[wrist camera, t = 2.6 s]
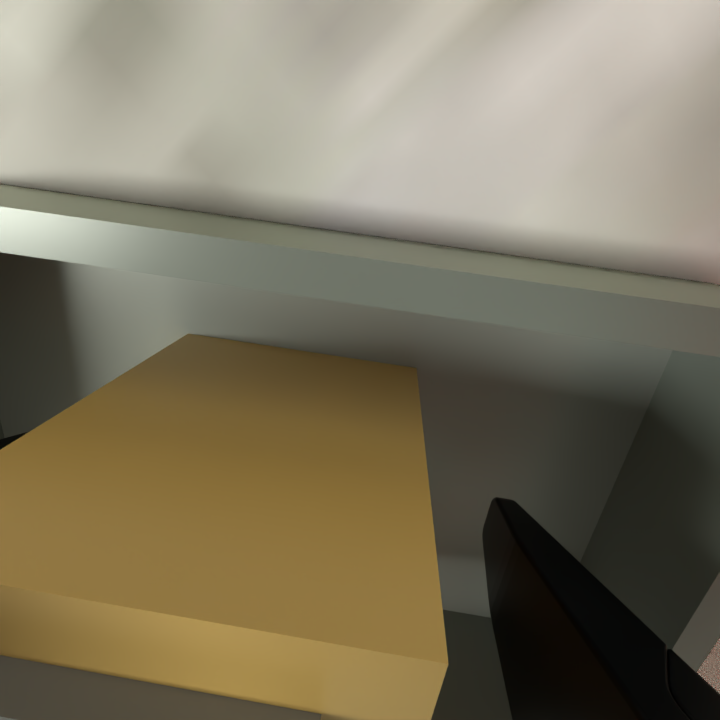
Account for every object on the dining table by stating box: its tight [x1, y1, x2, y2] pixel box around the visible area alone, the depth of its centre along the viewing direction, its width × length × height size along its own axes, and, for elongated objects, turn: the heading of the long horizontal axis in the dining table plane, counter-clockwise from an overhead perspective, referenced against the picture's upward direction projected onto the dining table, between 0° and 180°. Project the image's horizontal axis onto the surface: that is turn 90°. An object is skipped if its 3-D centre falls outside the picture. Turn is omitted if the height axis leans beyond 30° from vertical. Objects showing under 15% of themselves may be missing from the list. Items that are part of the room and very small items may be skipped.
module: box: [0, 334, 448, 720], centre depth 7 cm, size 5×5×6 cm
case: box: [0, 184, 720, 720], centre depth 9 cm, size 16×11×4 cm, turn 83°
